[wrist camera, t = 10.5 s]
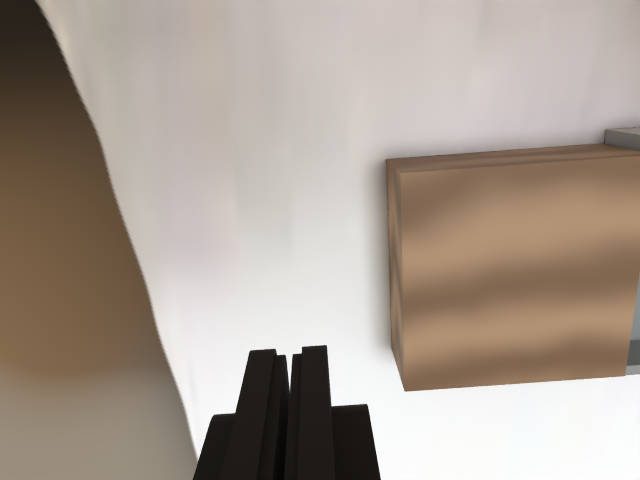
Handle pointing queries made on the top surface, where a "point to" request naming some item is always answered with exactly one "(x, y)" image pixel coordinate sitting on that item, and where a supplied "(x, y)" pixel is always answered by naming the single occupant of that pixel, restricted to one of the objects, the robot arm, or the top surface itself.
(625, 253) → the walnut riser
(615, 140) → the bin
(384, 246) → the top surface
